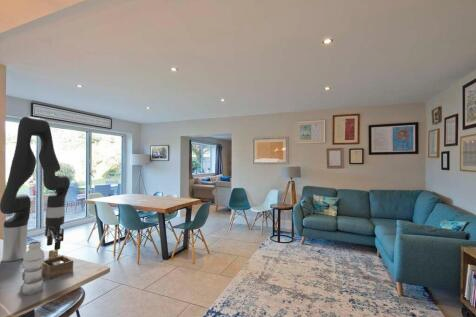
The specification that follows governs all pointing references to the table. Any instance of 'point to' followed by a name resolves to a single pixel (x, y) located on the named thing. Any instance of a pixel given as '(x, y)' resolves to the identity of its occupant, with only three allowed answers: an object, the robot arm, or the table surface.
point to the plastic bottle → (33, 269)
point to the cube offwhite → (57, 263)
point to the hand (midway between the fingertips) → (53, 247)
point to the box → (57, 267)
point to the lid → (52, 254)
